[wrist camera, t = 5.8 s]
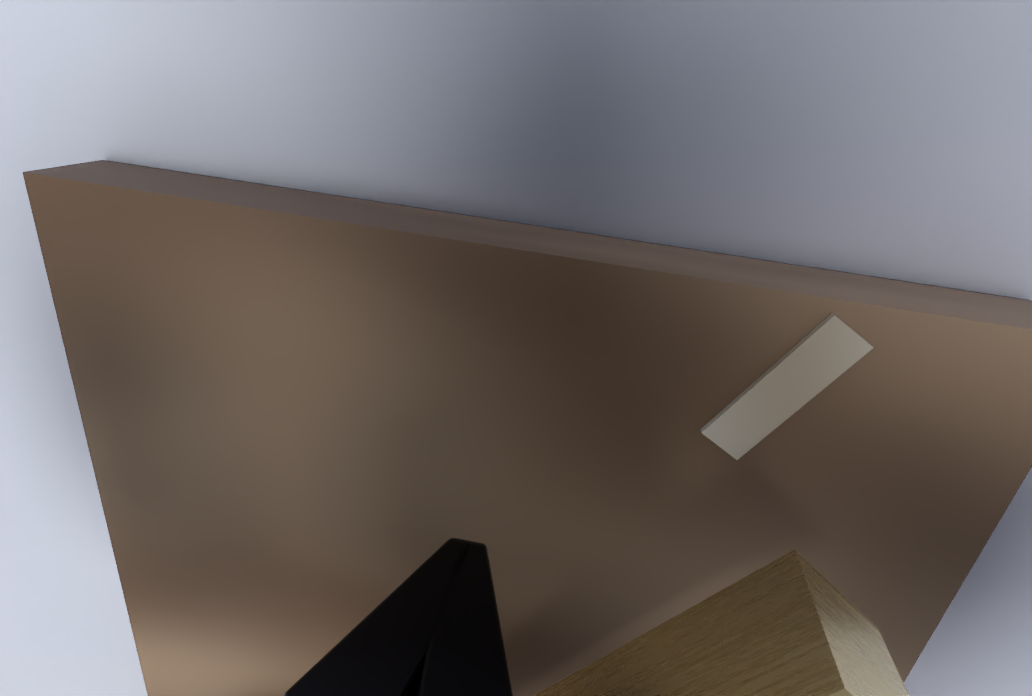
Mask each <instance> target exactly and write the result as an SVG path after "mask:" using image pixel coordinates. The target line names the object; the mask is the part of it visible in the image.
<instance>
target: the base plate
mask: <svg viewBox="0 0 1032 696" xmlns="http://www.w3.org/2000/svg"><path fill="white" fill-rule="evenodd" d="M23 175H24V180H25V184H26V188H27V192H28V196H29V201H30V205H31V209H32V213H33V217H34V221H35V226H36V230H37V234H38V238H39V242H40V247H41V251H42V255H43V259H44V263H45V267H46V272H47V276H48V280H49V284H50V288H51V293H52V297H53V301H54V305H55V309H56V313H57V318H58V322H59V326H60V330H61V334H62V339H63V343H64V347H65V351H66V355H67V359H68V364H69V368H70V372H71V376H72V380H73V385H74V389H75V393H76V397H77V401H78V405H79V410H80V414H81V418H82V422H83V426H84V431H85V435H86V439H87V443H88V447H89V451H90V456H91V460H92V464H93V468H94V472H95V477H96V481H97V485H98V489H99V493H100V497H101V502H102V506H103V510H104V514H105V518H106V523H107V527H108V531H109V535H110V539H111V543H112V548H113V552H114V556H115V560H116V564H117V569H118V573H119V577H120V581H121V585H122V589H123V594H124V598H125V602H126V606H127V610H128V615H129V619H130V623H131V627H132V631H133V635H134V640H135V644H136V648H137V652H138V656H139V661H140V665H141V669H142V673H143V677H144V681H145V686H146V690H147V694H148V696H284V694H285V692H286V691H287V690H288V689H290V688H291V687H292V686H293V685H294V684H295V683H296V682H297V681H298V680H299V679H300V678H301V677H302V676H303V675H304V674H306V673H307V672H308V671H309V670H310V669H311V668H312V667H313V666H314V665H315V664H316V663H317V662H318V661H319V660H320V659H322V658H323V657H324V656H325V655H326V654H327V653H328V652H329V651H330V650H331V649H332V648H333V647H334V646H335V645H336V644H338V643H339V642H340V641H341V640H342V639H343V638H344V637H345V636H346V635H347V634H348V633H349V632H350V631H351V630H352V629H354V628H355V627H356V626H357V625H358V624H359V623H360V622H361V621H362V620H363V619H364V618H365V617H366V616H367V615H368V614H370V613H371V612H372V611H373V610H374V609H375V608H376V607H377V606H378V605H379V604H380V603H381V602H382V601H383V600H384V599H385V598H387V597H388V596H389V595H390V594H391V593H392V592H393V591H394V590H395V589H396V588H397V587H398V586H399V585H400V584H401V583H403V582H404V581H405V580H406V579H407V578H408V577H409V576H410V575H411V574H412V573H413V572H414V571H415V570H416V569H417V568H419V567H420V566H421V565H422V564H423V563H424V562H425V561H426V560H427V559H428V558H429V557H430V556H431V555H432V554H433V553H435V552H436V551H437V550H438V549H439V548H440V547H441V546H442V545H443V544H444V543H445V542H446V541H447V540H449V539H450V538H459V539H464V540H469V541H474V542H479V543H484V544H485V545H486V547H487V551H488V556H489V562H490V568H491V573H492V579H493V585H494V591H495V596H496V602H497V608H498V613H499V619H500V625H501V630H502V636H503V642H504V647H505V653H506V659H507V664H508V670H509V676H510V681H511V687H512V693H513V696H534V695H536V694H538V693H540V692H541V691H543V690H545V689H547V688H548V687H550V686H552V685H554V684H556V683H557V682H559V681H561V680H563V679H564V678H566V677H568V676H570V675H572V674H573V673H575V672H577V671H579V670H580V669H582V668H584V667H586V666H588V665H589V664H591V663H593V662H595V661H596V660H598V659H600V658H602V657H604V656H605V655H607V654H609V653H611V652H612V651H614V650H616V649H618V648H620V647H621V646H623V645H625V644H627V643H628V642H630V641H632V640H634V639H636V638H637V637H639V636H641V635H643V634H644V633H646V632H648V631H650V630H652V629H653V628H655V627H657V626H659V625H660V624H662V623H664V622H666V621H668V620H669V619H671V618H673V617H675V616H676V615H678V614H680V613H682V612H684V611H685V610H687V609H689V608H691V607H692V606H694V605H696V604H698V603H700V602H701V601H703V600H705V599H707V598H708V597H710V596H712V595H714V594H715V593H717V592H719V591H721V590H723V589H724V588H726V587H728V586H730V585H731V584H733V583H735V582H737V581H739V580H740V579H742V578H744V577H746V576H747V575H749V574H751V573H753V572H755V571H756V570H758V569H760V568H762V567H763V566H765V565H767V564H769V563H771V562H772V561H774V560H776V559H778V558H779V557H781V556H783V555H785V554H787V553H788V552H790V551H792V550H794V549H795V550H796V551H797V552H798V553H799V554H800V555H801V556H802V557H804V558H805V559H806V560H807V561H808V562H809V563H810V564H811V565H812V566H813V567H814V568H815V569H816V570H817V571H818V572H819V573H820V574H821V575H822V576H824V577H825V578H826V579H827V580H828V581H829V582H830V583H831V584H832V585H833V586H834V587H835V588H836V589H837V590H838V591H839V592H840V593H841V594H842V595H844V596H845V597H846V598H847V599H848V600H849V601H850V602H851V603H852V604H853V605H854V606H855V607H856V608H857V609H858V610H859V611H860V612H861V613H862V614H864V615H865V616H866V617H867V618H868V619H869V620H870V621H871V622H872V623H873V624H874V625H875V626H876V627H877V628H878V629H879V632H880V634H881V636H882V638H883V640H884V642H885V645H886V647H887V649H888V651H889V653H890V655H891V658H892V660H893V662H894V664H895V666H896V668H897V671H898V673H899V675H900V677H901V679H902V681H903V682H904V681H905V679H906V677H907V676H908V674H909V672H910V671H911V669H912V667H913V666H914V664H915V662H916V660H917V659H918V657H919V655H920V654H921V652H922V650H923V649H924V647H925V645H926V644H927V642H928V640H929V639H930V637H931V635H932V634H933V632H934V630H935V628H936V627H937V625H938V623H939V622H940V620H941V618H942V617H943V615H944V613H945V612H946V610H947V608H948V607H949V605H950V603H951V601H952V600H953V598H954V596H955V595H956V593H957V591H958V590H959V588H960V586H961V585H962V583H963V581H964V580H965V578H966V576H967V575H968V573H969V571H970V569H971V568H972V566H973V564H974V563H975V561H976V559H977V558H978V556H979V554H980V553H981V551H982V549H983V548H984V546H985V544H986V543H987V541H988V539H989V537H990V536H991V534H992V532H993V531H994V529H995V527H996V526H997V524H998V522H999V521H1000V519H1001V517H1002V516H1003V514H1004V512H1005V511H1006V509H1007V507H1008V505H1009V504H1010V502H1011V500H1012V499H1013V497H1014V495H1015V494H1016V492H1017V490H1018V489H1019V487H1020V485H1021V484H1022V482H1023V480H1024V479H1025V477H1026V475H1027V473H1028V472H1029V470H1030V468H1031V467H1032V301H1030V300H1023V299H1017V298H1010V297H1003V296H997V295H990V294H984V293H977V292H970V291H964V290H957V289H951V288H944V287H937V286H931V285H924V284H917V283H911V282H904V281H898V280H891V279H884V278H878V277H871V276H865V275H858V274H851V273H845V272H838V271H832V270H825V269H818V268H812V267H805V266H798V265H792V264H785V263H779V262H772V261H765V260H759V259H752V258H746V257H739V256H732V255H726V254H719V253H712V252H706V251H699V250H693V249H686V248H679V247H673V246H666V245H660V244H653V243H646V242H640V241H633V240H627V239H620V238H613V237H607V236H600V235H593V234H587V233H580V232H574V231H567V230H560V229H554V228H547V227H541V226H534V225H527V224H521V223H514V222H508V221H501V220H494V219H488V218H481V217H474V216H468V215H461V214H455V213H448V212H441V211H435V210H428V209H422V208H415V207H408V206H402V205H395V204H388V203H382V202H375V201H369V200H362V199H355V198H349V197H342V196H336V195H329V194H322V193H316V192H309V191H303V190H296V189H289V188H283V187H276V186H269V185H263V184H256V183H250V182H243V181H236V180H230V179H223V178H217V177H210V176H203V175H197V174H190V173H183V172H177V171H170V170H164V169H157V168H150V167H144V166H137V165H131V164H124V163H117V162H111V161H104V160H100V161H94V162H87V163H80V164H74V165H67V166H61V167H54V168H47V169H41V170H34V171H28V172H23Z"/></svg>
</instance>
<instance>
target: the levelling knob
mask: <svg viewBox="0 0 1032 696" xmlns="http://www.w3.org/2000/svg"><path fill="white" fill-rule="evenodd" d="M534 696H909V695H908V692H907V690H906V688H905V686H904V684H903V681H902V679H901V677H900V675H899V673H898V671H897V668H896V666H895V664H894V662H893V660H892V658H891V655H890V653H889V651H888V649H887V647H886V645H885V642H884V640H883V638H882V636H881V634H880V632H879V629H878V628H877V627H876V626H875V625H874V624H873V623H872V622H871V621H870V620H869V619H868V618H867V617H866V616H865V615H864V614H862V613H861V612H860V611H859V610H858V609H857V608H856V607H855V606H854V605H853V604H852V603H851V602H850V601H849V600H848V599H847V598H846V597H845V596H844V595H842V594H841V593H840V592H839V591H838V590H837V589H836V588H835V587H834V586H833V585H832V584H831V583H830V582H829V581H828V580H827V579H826V578H825V577H824V576H822V575H821V574H820V573H819V572H818V571H817V570H816V569H815V568H814V567H813V566H812V565H811V564H810V563H809V562H808V561H807V560H806V559H805V558H804V557H802V556H801V555H800V554H799V553H798V552H797V551H796V550H795V549H794V550H792V551H790V552H788V553H787V554H785V555H783V556H781V557H779V558H778V559H776V560H774V561H772V562H771V563H769V564H767V565H765V566H763V567H762V568H760V569H758V570H756V571H755V572H753V573H751V574H749V575H747V576H746V577H744V578H742V579H740V580H739V581H737V582H735V583H733V584H731V585H730V586H728V587H726V588H724V589H723V590H721V591H719V592H717V593H715V594H714V595H712V596H710V597H708V598H707V599H705V600H703V601H701V602H700V603H698V604H696V605H694V606H692V607H691V608H689V609H687V610H685V611H684V612H682V613H680V614H678V615H676V616H675V617H673V618H671V619H669V620H668V621H666V622H664V623H662V624H660V625H659V626H657V627H655V628H653V629H652V630H650V631H648V632H646V633H644V634H643V635H641V636H639V637H637V638H636V639H634V640H632V641H630V642H628V643H627V644H625V645H623V646H621V647H620V648H618V649H616V650H614V651H612V652H611V653H609V654H607V655H605V656H604V657H602V658H600V659H598V660H596V661H595V662H593V663H591V664H589V665H588V666H586V667H584V668H582V669H580V670H579V671H577V672H575V673H573V674H572V675H570V676H568V677H566V678H564V679H563V680H561V681H559V682H557V683H556V684H554V685H552V686H550V687H548V688H547V689H545V690H543V691H541V692H540V693H538V694H536V695H534Z"/></svg>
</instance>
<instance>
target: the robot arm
mask: <svg viewBox="0 0 1032 696" xmlns="http://www.w3.org/2000/svg"><path fill="white" fill-rule="evenodd" d="M284 696H513V693H512V687H511V681H510V676H509V670H508V664H507V659H506V653H505V647H504V642H503V636H502V630H501V625H500V619H499V613H498V608H497V602H496V596H495V591H494V585H493V579H492V573H491V568H490V562H489V556H488V551H487V547H486V545H485V544H484V543H479V542H474V541H469V540H464V539H459V538H450V539H449V540H447V541H446V542H445V543H444V544H443V545H442V546H441V547H440V548H439V549H438V550H437V551H436V552H435V553H433V554H432V555H431V556H430V557H429V558H428V559H427V560H426V561H425V562H424V563H423V564H422V565H421V566H420V567H419V568H417V569H416V570H415V571H414V572H413V573H412V574H411V575H410V576H409V577H408V578H407V579H406V580H405V581H404V582H403V583H401V584H400V585H399V586H398V587H397V588H396V589H395V590H394V591H393V592H392V593H391V594H390V595H389V596H388V597H387V598H385V599H384V600H383V601H382V602H381V603H380V604H379V605H378V606H377V607H376V608H375V609H374V610H373V611H372V612H371V613H370V614H368V615H367V616H366V617H365V618H364V619H363V620H362V621H361V622H360V623H359V624H358V625H357V626H356V627H355V628H354V629H352V630H351V631H350V632H349V633H348V634H347V635H346V636H345V637H344V638H343V639H342V640H341V641H340V642H339V643H338V644H336V645H335V646H334V647H333V648H332V649H331V650H330V651H329V652H328V653H327V654H326V655H325V656H324V657H323V658H322V659H320V660H319V661H318V662H317V663H316V664H315V665H314V666H313V667H312V668H311V669H310V670H309V671H308V672H307V673H306V674H304V675H303V676H302V677H301V678H300V679H299V680H298V681H297V682H296V683H295V684H294V685H293V686H292V687H291V688H290V689H288V690H287V691H286V692H285V694H284Z"/></svg>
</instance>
